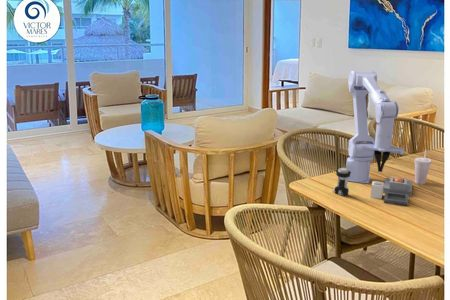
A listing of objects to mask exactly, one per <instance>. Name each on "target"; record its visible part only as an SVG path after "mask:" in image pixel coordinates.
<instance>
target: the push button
mask: <svg viewBox="0 0 450 300" xmlns="http://www.w3.org/2000/svg"><path fill="white" fill-rule="evenodd" d="M335 174H336V176H337V184H336V186H335V187H331V191H332V192H334V194H335V195H338V196H342V197H347V196H349V190H350V189H349V188H348V182H349V181H348V177H350V174H351V172H350V171H349V169H347V168H346V167H339V168H338V169H337V170H336V171H335Z"/></svg>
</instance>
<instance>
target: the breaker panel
mask: <svg viewBox="0 0 450 300" xmlns="http://www.w3.org/2000/svg"><path fill="white" fill-rule="evenodd" d="M395 178H396V177H394V176H393V177H392V176H391V177H390V178H389V177H385V180H384V186H383V194H385V193H386V192H392V193H400V194H407V195H408V198H412V194H413V193H412V191H413V181H412V180H408V179H407V178H403V177H401V178H402V179H403V183H400V182H394V180H395Z"/></svg>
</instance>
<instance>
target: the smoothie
mask: <svg viewBox="0 0 450 300" xmlns="http://www.w3.org/2000/svg"><path fill="white" fill-rule="evenodd" d="M423 155H424V156H423V157H415V158H414V160H413V161H414V183H415V184H417V185H425V184H426V182H427V176H428V174H429V170H430V166H431V164H432V160H431V159H430V158H427V148H425V149H424V154H423Z"/></svg>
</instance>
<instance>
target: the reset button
mask: <svg viewBox="0 0 450 300" xmlns="http://www.w3.org/2000/svg"><path fill="white" fill-rule="evenodd" d="M402 178H403V177H395V180H394V182H400V183H403V179H404V178H403V179H402Z"/></svg>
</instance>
